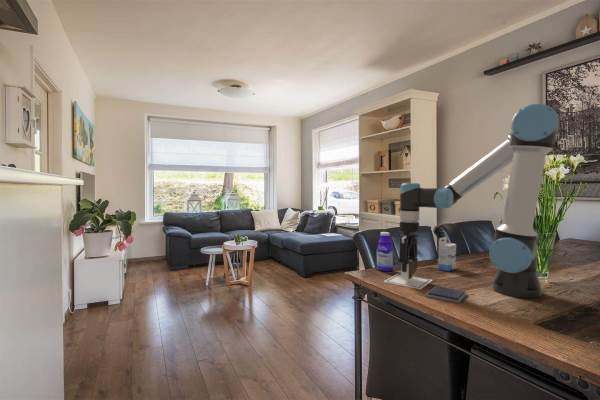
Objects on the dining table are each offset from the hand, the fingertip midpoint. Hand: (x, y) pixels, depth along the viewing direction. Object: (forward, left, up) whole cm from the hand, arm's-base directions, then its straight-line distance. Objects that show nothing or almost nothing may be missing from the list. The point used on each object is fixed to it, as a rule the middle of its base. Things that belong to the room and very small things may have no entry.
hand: (408, 277), depth 135 cm
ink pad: (-17, +9, -2) cm, 19 cm away
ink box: (-7, -31, -2) cm, 32 cm away
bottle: (+15, -11, -2) cm, 19 cm away
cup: (0, 0, 0) cm, 1 cm away
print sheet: (0, 0, -2) cm, 2 cm away
